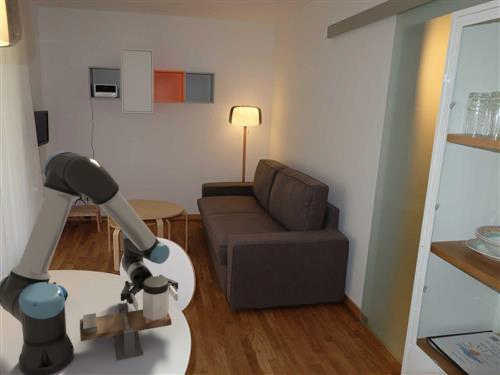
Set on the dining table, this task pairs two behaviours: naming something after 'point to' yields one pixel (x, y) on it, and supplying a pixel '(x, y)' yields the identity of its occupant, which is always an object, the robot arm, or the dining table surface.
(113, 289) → the dining table surface
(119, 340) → the pivot stand
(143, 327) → the beam
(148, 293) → the jar
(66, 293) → the ornament
